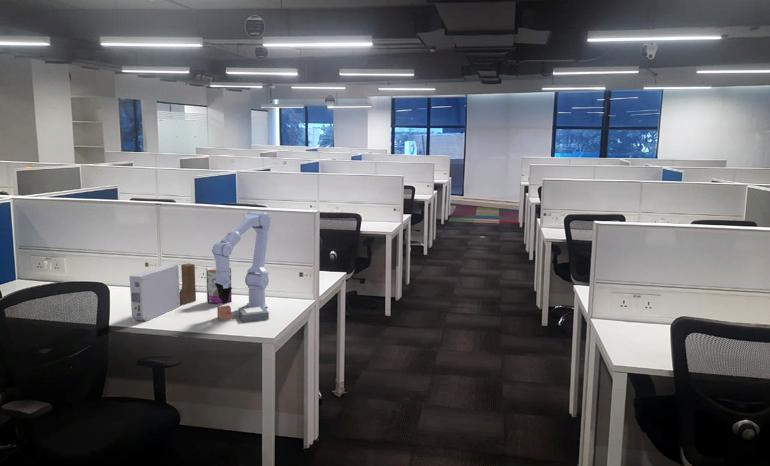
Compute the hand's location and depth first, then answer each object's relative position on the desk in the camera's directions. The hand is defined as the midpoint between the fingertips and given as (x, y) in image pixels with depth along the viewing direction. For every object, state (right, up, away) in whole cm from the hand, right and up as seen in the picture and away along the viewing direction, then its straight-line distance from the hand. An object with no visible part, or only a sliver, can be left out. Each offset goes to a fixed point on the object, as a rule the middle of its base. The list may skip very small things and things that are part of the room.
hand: (223, 301), depth 261 cm
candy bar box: (-9, -4, +27) cm, 29 cm away
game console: (-31, -7, +7) cm, 33 cm away
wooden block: (-25, -4, +26) cm, 36 cm away
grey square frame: (+12, -7, +3) cm, 15 cm away
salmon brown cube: (0, -8, +1) cm, 8 cm away
